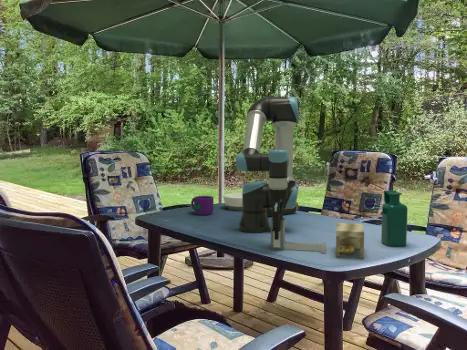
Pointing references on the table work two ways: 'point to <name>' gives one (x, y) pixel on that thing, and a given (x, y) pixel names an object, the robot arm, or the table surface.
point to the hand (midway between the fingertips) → (277, 245)
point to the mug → (203, 205)
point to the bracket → (294, 245)
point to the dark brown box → (285, 211)
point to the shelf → (350, 236)
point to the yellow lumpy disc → (346, 249)
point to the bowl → (233, 201)
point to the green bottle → (394, 220)
